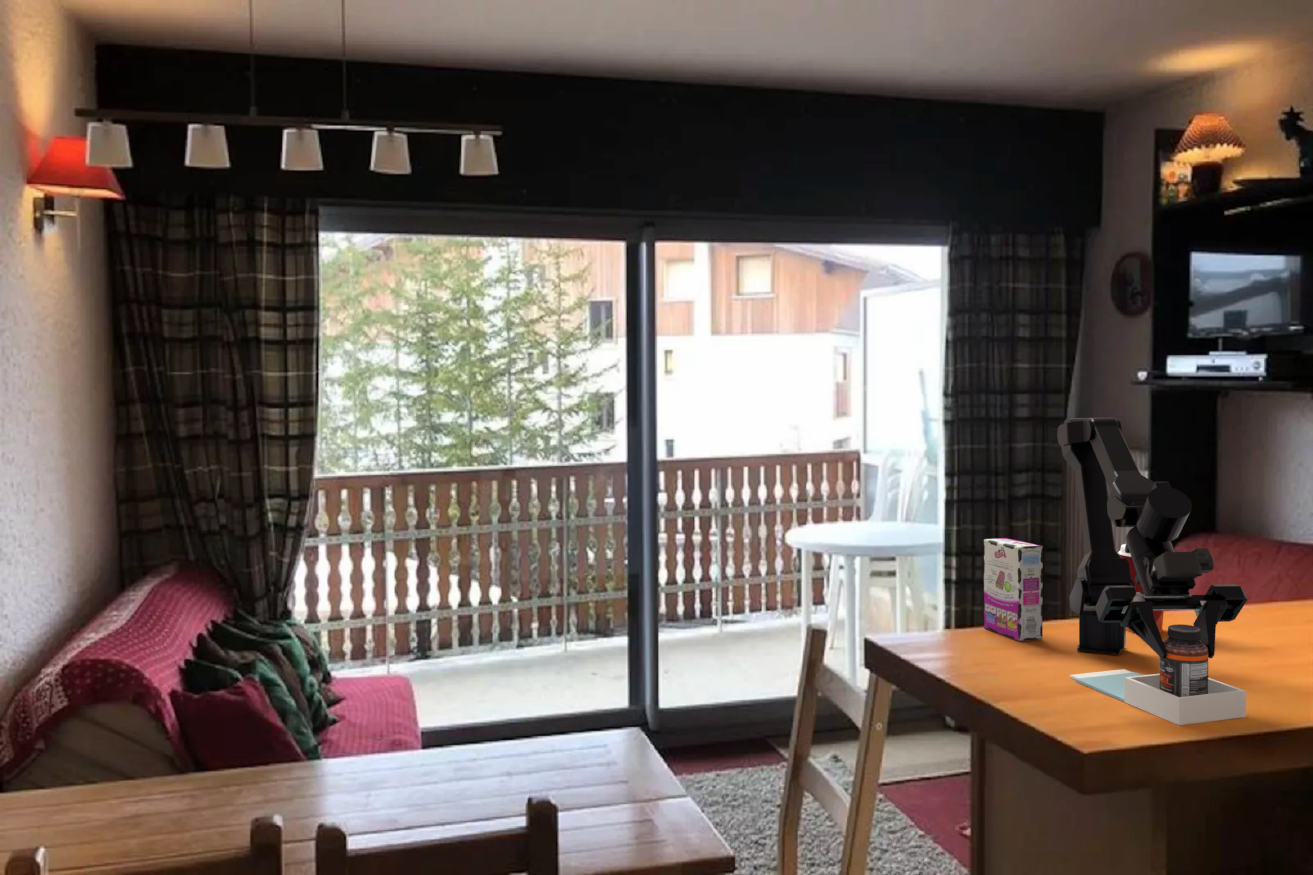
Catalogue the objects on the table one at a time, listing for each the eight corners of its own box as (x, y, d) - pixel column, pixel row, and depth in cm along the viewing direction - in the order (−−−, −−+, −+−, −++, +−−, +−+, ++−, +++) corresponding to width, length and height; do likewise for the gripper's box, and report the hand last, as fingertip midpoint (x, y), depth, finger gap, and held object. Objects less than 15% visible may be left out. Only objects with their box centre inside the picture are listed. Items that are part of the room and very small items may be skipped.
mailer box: (1178, 725, 140) (1178, 698, 140) (1067, 677, 163) (1067, 655, 163) (1245, 716, 143) (1245, 690, 143) (1126, 671, 166) (1126, 648, 165)
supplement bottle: (1150, 703, 150) (1150, 623, 149) (1191, 701, 150) (1192, 621, 149) (1174, 717, 144) (1175, 633, 143) (1217, 715, 144) (1218, 631, 143)
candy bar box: (1044, 640, 186) (1044, 545, 185) (1019, 642, 184) (1019, 547, 184) (1006, 626, 197) (1006, 536, 196) (982, 628, 195) (982, 538, 194)
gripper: (1103, 528, 150) (1133, 625, 139) (1241, 526, 149) (1282, 624, 138) (1083, 574, 158) (1111, 669, 148) (1214, 572, 157) (1251, 668, 147)
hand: (1188, 657), depth 145 cm, fingers closed on supplement bottle, 6 cm apart
